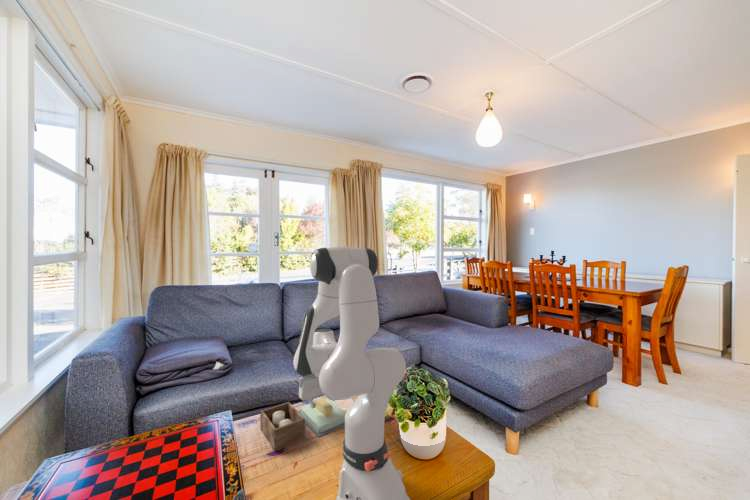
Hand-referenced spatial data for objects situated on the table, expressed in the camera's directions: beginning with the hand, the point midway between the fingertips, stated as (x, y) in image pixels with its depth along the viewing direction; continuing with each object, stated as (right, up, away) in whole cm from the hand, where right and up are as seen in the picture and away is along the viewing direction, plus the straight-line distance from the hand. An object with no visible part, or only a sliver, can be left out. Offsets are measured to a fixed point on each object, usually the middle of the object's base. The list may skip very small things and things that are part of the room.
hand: (323, 403), depth 119 cm
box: (-13, -6, -10) cm, 18 cm away
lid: (0, -5, 0) cm, 5 cm away
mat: (0, -6, 0) cm, 6 cm away
